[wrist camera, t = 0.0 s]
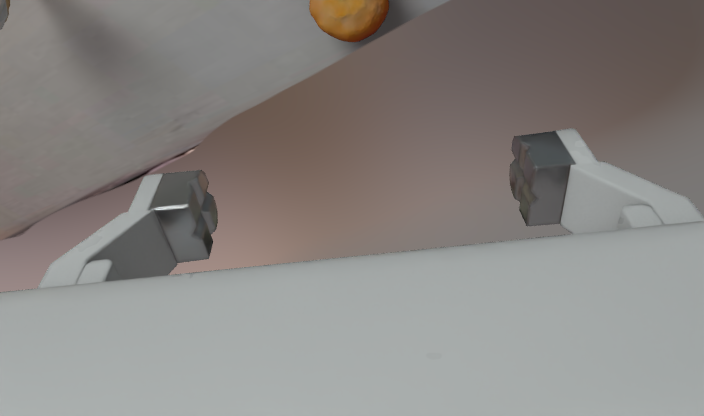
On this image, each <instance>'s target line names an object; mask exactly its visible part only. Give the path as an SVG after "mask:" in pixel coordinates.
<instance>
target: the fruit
mask: <svg viewBox="0 0 704 416" xmlns="http://www.w3.org/2000/svg"><path fill="white" fill-rule="evenodd" d="M309 10H310V13H311V15H312V17H313V18H314V19H315V21H316V23H317V24H318V26H319V27H320V28H321V29H322V30H323V31H324V32H326V33H327V34H329V35H330V36H332V37H334V38H337V39H339V40H342V41H347V42H358V41H361V40H363V39H365V38H367V37H369V36H370V35H372V34H374V33H375V32H376V31H377V30H378V29H379V27H380V26H381V24H382V23H383V21H384V20H385V18H386V15H387V12H388V10H389V2H388V0H310V8H309Z"/></svg>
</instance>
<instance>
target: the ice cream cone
mask: <svg viewBox="0 0 704 416" xmlns="http://www.w3.org/2000/svg"><path fill="white" fill-rule="evenodd" d="M9 7H10V0H0V30H1V29H2V27H3V25H4V23H5V22H6V20H7V18H8V15H9Z"/></svg>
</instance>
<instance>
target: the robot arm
mask: <svg viewBox="0 0 704 416" xmlns="http://www.w3.org/2000/svg"><path fill="white" fill-rule="evenodd" d="M512 152H513V154H514V157H515V159H514V161H513V162H512V163H511V164H510V186H511V190H512V193H513V196H514V198H515V199H516V200H518V201H520V212H521V214H522V217H523V219H524V221H525V223H526V226H536V225H549V224H560V225H561V226H562V227H563V228H565V229H566V230H568V231H569V232H571V233H572V234H568V235H558V236H548V237H538V238H528V239H519V240H510V241H499V242H489V243H479V244H470V245H460V246H450V247H440V248H431V249H422V250H411V251H402V252H391V253H381V254H372V255H362V256H352V257H342V258H333V259H323V260H313V261H303V262H293V263H283V264H274V265H264V266H254V267H244V268H234V269H225V270H215V271H205V272H195V273H185V274H175V275H168V274H169V273H170V272H171V271H172V270H173V269H174V268H175V267H176V266H177V263H181V262H189V261H196V260H204V259H209V256H210V252H211V248H212V244H213V240H212V237H211V234H212V233H213V232H214V231H215V230H216V227H217V223H218V222H217V221H218V219H217V208H216V203H215V200H214V197H213V196H212V195H211V194H209V193H208V192H207V188H208V184H209V182H208V180H207V177H206V175H205V173H204V172H203V171H202V170H197V171H186V172H175V173H166V174H164V173H163V174H154V175H147V176H145V177H144V178H143V180H142V182H141V184H140V187H139V189H138V191H137V193H136V196H135V198H134V200H133V202H132V204H131V206H130V209H129V211H128V213H122V214H120V215H119V216H118V217H116V218H115V219H114V220H112V221H111V222H109V223H108V224H106V225H105V226H103V227H102V228H101V229H99V230H98V231H96V232H95V233H94V234H92V235H91V236H89V237H88V238H87V239H85V240H84V241H82V242H81V243H79V244H78V245H77V246H75V247H74V248H72V249H71V250H70V251H68V252H67V253H66V254H64V255H63V256H61V257H60V258H58V259H57V260H56V261H54V262H53V263H51V265H50V267H49V268H48V270H47V272H46V273H45V275H44V277H43V279H42V281H41V282H40V284H39V286H38V288H37V289H28V290H18V291H8V292H0V416H704V216H703V215H702V214H701V212H700V211H699V210H698V209H697V207H696V206H695V205H694V204H693V203H692V201H691V200H690V199H689V198H687V197H685V196H683V195H680V194H678V193H676V192H673V191H671V190H669V189H667V188H664V187H662V186H660V185H657V184H655V183H653V182H650V181H648V180H646V179H643V178H641V177H639V176H637V175H634V174H632V173H630V172H627V171H625V170H623V169H620V168H618V167H616V166H613V165H611V164H609V163H607V162H598V161H597V159H596V158H595V156H594V155H593V153H592V152H591V151H590V149H589V148H588V146H587V145H586V143H585V142H584V141H583V139H582V138H581V136H580V135H579V134H578V132H577V131H576V130H575V129H573V128H571V129H564V130H557V131H552V132H544V133H537V134H529V135H521V136H514V138H513V142H512Z"/></svg>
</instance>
